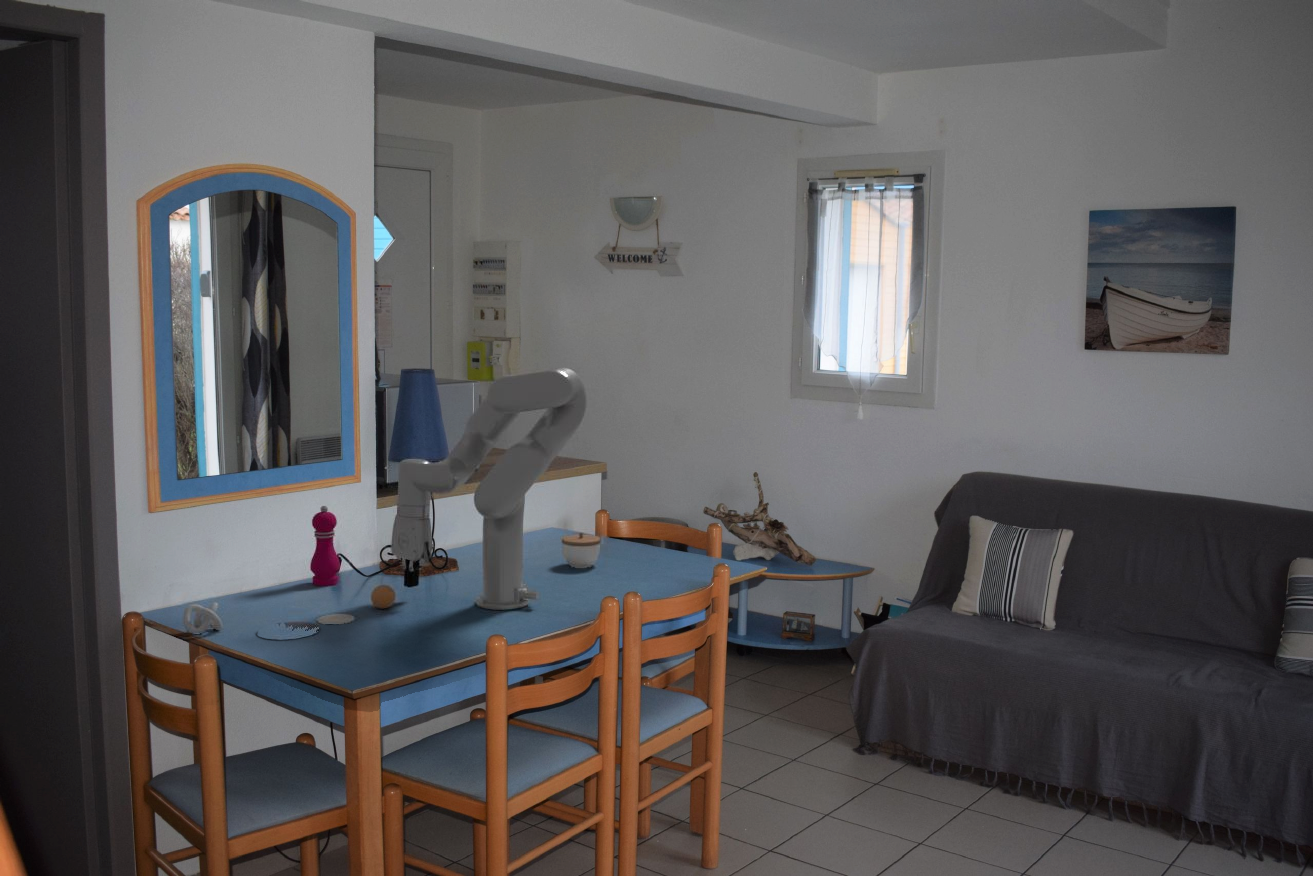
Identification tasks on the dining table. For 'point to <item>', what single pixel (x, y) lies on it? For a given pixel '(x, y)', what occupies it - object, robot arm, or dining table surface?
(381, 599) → the ball
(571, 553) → the lidded jar
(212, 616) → the knot
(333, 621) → the plain round gray disc
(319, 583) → the pepper mill
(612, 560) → the dining table surface
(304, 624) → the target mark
